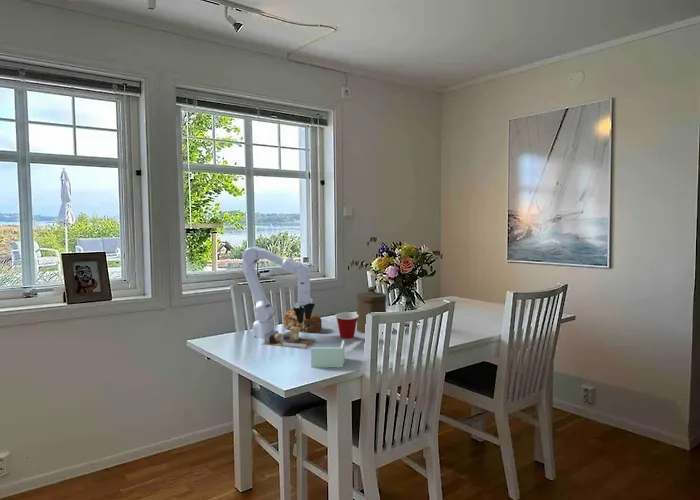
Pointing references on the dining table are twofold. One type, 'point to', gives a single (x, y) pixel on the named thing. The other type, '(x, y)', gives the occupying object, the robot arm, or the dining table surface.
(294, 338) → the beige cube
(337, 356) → the right angle wall
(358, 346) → the dining table surface
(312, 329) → the bread
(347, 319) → the plastic cup
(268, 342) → the press base
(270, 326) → the robot arm
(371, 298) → the wooden container
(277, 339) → the tan ball
